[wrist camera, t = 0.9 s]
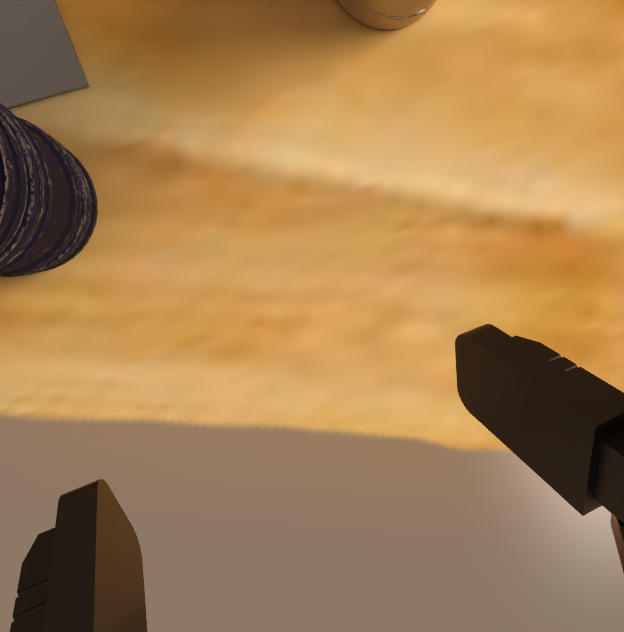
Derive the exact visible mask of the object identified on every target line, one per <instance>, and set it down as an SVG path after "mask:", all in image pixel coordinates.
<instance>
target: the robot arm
mask: <svg viewBox="0 0 624 632" xmlns="http://www.w3.org/2000/svg"><path fill="white" fill-rule="evenodd" d="M436 1H437V0H338V2H339V3H340V4H341V6H342V7H343V8H344V9H345V10H346V11H347V12H348V13H349V14H350V15H351V16H352V17H353V18H355V19H357V20H358V21H360V22H361V23H363V24H365V25H368V26H370V27H373V28H377V29H384V30H391V29H400V28H403V27H405V26H408V25H411V24H412V23H414V22H415V21H417V20H418V19H420V18H421V17H422V16H423V15H424V14H425V13H426V12H427V11H428V10H429V9H430V8H431V6H432V5H433V4H434V3H435V2H436ZM455 352H456V371H457V388H458V393H459V396H460V398H461V401H462V403H463V404H464V406H465V407H466V409H467V410H468V411H469V412H470V413H471V414H472V415H473V416H474V417H475V418H476V419H477V420H478V421H480V422H481V423H482V424H483V425H484V426H485V427H486V428H487V429H488V430H489V431H490V432H492V433H493V434H494V435H495V436H496V437H497V438H498V439H499V440H500V441H501V442H503V443H504V444H505V445H506V446H507V447H508V448H509V449H510V450H511V451H512V452H513V453H515V454H516V455H517V456H518V457H519V458H520V459H521V460H522V461H523V462H524V463H526V464H527V465H528V466H529V467H530V468H531V469H532V470H533V471H534V472H535V473H537V474H538V475H539V476H540V477H541V478H542V479H543V480H544V481H546V483H547V484H549V485H550V486H551V487H552V488H553V489H554V490H555V491H556V492H557V493H559V495H561V496H562V497H563V498H564V499H565V500H566V501H567V502H568V503H569V504H570V505H571V506H573V507H574V508H575V509H576V510H577V511H578V512H579V513H580V514H581V515H582V516H583V515H585V514H587V513H589V512H591V511H593V510H594V509H596V508H598V507H600V506H602V505H603V506H604V507H605V508H606V509H607V510H609V511H610V512H611V513H612V514H611V527H612V531H613V534H614V538H615V542H616V546H617V549H618V553H619V557H620V561H621V565H622V568H623V572H624V393H623V392H621V391H620V390H618V389H616V388H615V387H613V386H611V385H610V384H608V383H606V382H605V381H603V380H601V379H600V378H598V377H596V376H595V375H593V374H591V373H590V372H588V371H586V370H585V369H583V368H581V367H579V368H578V367H577V366H576V364H575V363H573V362H572V361H570V360H568V359H567V358H565V357H563V358H562V357H561V356H560V354H558V353H557V352H555V351H553V350H552V349H550V348H548V347H547V346H545V345H543V344H542V343H540V342H536V341H533V340H529V339H526V338H522V337H519V336H514V337H511V336H509V335H508V334H506V333H504V332H503V331H501V330H500V329H498V328H496V327H495V326H493V325H491V324H485V325H483V326H480V327H478V328H475V329H473V330H470V331H468V332H465V333H463V334H460V335H459V336H457V338H456V341H455ZM17 593H18V597H17V598H16V601H15V607H14V612H13V618H14V622H12V623H11V628H10V632H147V621H146V607H145V592H144V578H143V565H142V555H141V549H140V545H139V541H138V538H137V536H136V533H135V531H134V529H133V527H132V525H131V523H130V521H129V520H128V518H127V516H126V515H125V513H124V511H123V510H122V508H121V506H120V505H119V503H118V501H117V499H116V498H115V496H114V494H113V493H112V491H111V489H110V488H109V486H108V484H107V483H106V482H105V481H104V480H103V479H100V480H97V481H95V482H92V483H90V484H87V485H85V486H83V487H80V488H77V489H75V490H73V491H70V492H68V493H65V494H63V495H61V496H60V498H59V502H58V509H57V518H56V526H55V528H53V529H50V530H48V531H46V532H43V533H41V534H38V536H37V538H36V540H35V542H34V543H33V545H32V547H31V549H30V551H29V552H28V554H27V556H26V558H25V560H24V561H23V563H22V567H21V573H20V578H19V584H18V590H17Z"/></svg>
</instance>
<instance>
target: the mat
mask: <svg viewBox="0 0 624 632" xmlns="http://www.w3.org/2000/svg"><path fill="white" fill-rule="evenodd" d="M88 86H89V85H88V83H87V80H86V78H85V75H84V73H83V70H82V68H81V65H80V63H79V60H78V58H77V55H76V53H75V50H74V48H73V45H72V43H71V40H70V38H69V35H68V33H67V30H66V28H65V25H64V23H63V20H62V18H61V15H60V13H59V10H58V8H57V5H56V2H55V0H0V103H1V104H3V105H4V106H5V107H6V108H8V109H11V108H14V107H18V106H21V105H25V104H28V103H32V102H35V101H39V100H42V99H46V98H49V97H53V96H56V95H60V94H63V93H67V92H70V91H74V90H77V89H81V88H84V87H88Z"/></svg>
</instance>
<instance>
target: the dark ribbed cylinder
mask: <svg viewBox="0 0 624 632" xmlns="http://www.w3.org/2000/svg"><path fill="white" fill-rule="evenodd" d="M97 213H98V210H97V197H96V192H95V189H94V186H93V183H92V180H91V178H90V176H89V175H88V173H87V171H86V169H85V168H84V167H83V165H82V164H81V163H80V161H79V160H78V159H77V158H76V157H75V156H74V155H73V154H72V153H71V152H70V151H68V150H67V149H66V148H64V147H63V146H62V145H61V144H60V143H59V142H58V141H56V140H55V139H54V138H52V137H51V136H50V135H48V134H47V133H45V132H44V131H43V130H41V129H40V128H39V127H37V126H35V125H33V124H31V123H30V122H28V121H26V120H23V119H21V118H18V117H16V116H15V115H14V114H13V113H12V112H11V111H10V110H9V109H8V108H6V107H5V106H4V105H3V104H1V103H0V277H14V276H23V275H30V274H34V273H37V272H41V271H46V270H50V269H53V268H56V267H58V266H61V265H63V264H65V263H66V262H68V261H69V260H71V259H73V258H74V257H75V256H76V255H77V254H78V253H79V252H80V251H81V250H82V249H83V248H84V247H85V245H86V244H87V243H88V241H89V239H90V237H91V235H92V234H93V231H94V228H95V225H96V220H97Z"/></svg>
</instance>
